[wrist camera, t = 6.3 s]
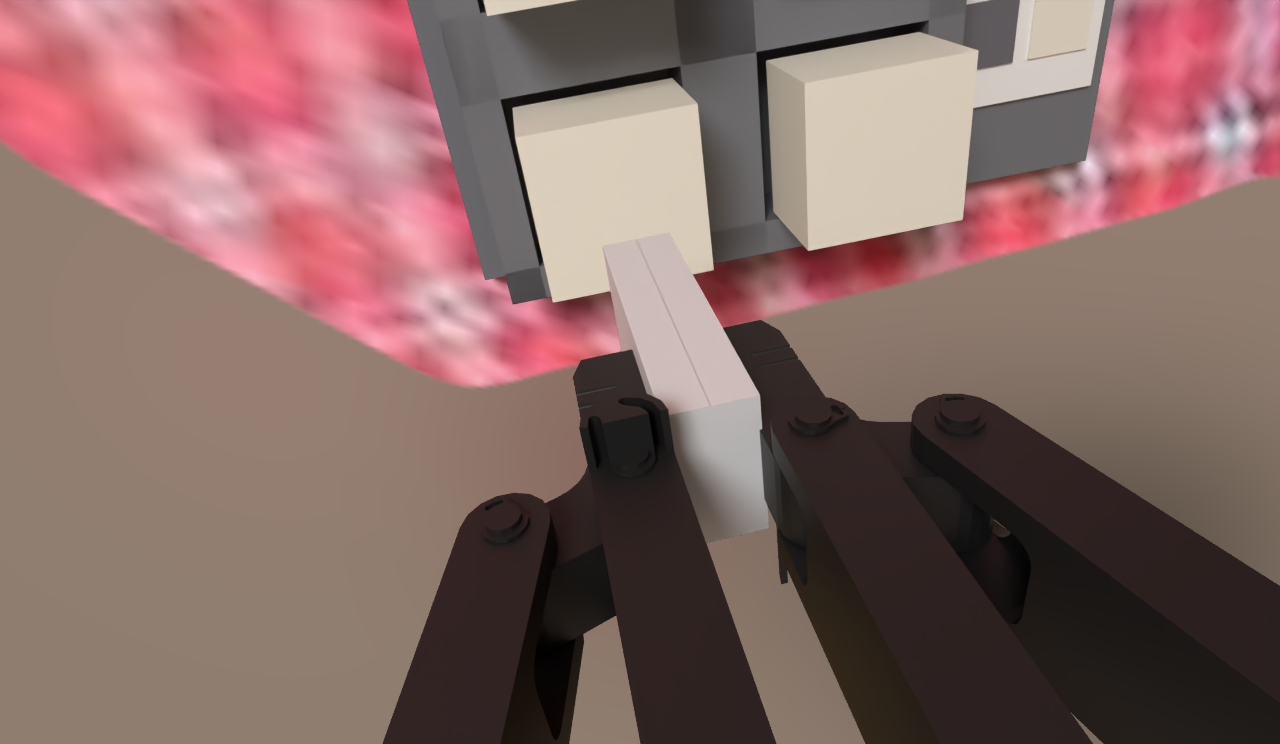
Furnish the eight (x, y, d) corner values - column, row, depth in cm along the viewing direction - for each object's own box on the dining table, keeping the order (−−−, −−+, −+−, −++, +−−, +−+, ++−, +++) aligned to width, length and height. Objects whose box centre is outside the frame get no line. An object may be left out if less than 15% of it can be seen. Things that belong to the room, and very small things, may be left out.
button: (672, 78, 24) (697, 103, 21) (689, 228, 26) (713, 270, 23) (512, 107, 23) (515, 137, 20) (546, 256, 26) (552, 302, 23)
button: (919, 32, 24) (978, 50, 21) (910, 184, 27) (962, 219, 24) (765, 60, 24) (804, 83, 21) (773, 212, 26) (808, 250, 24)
